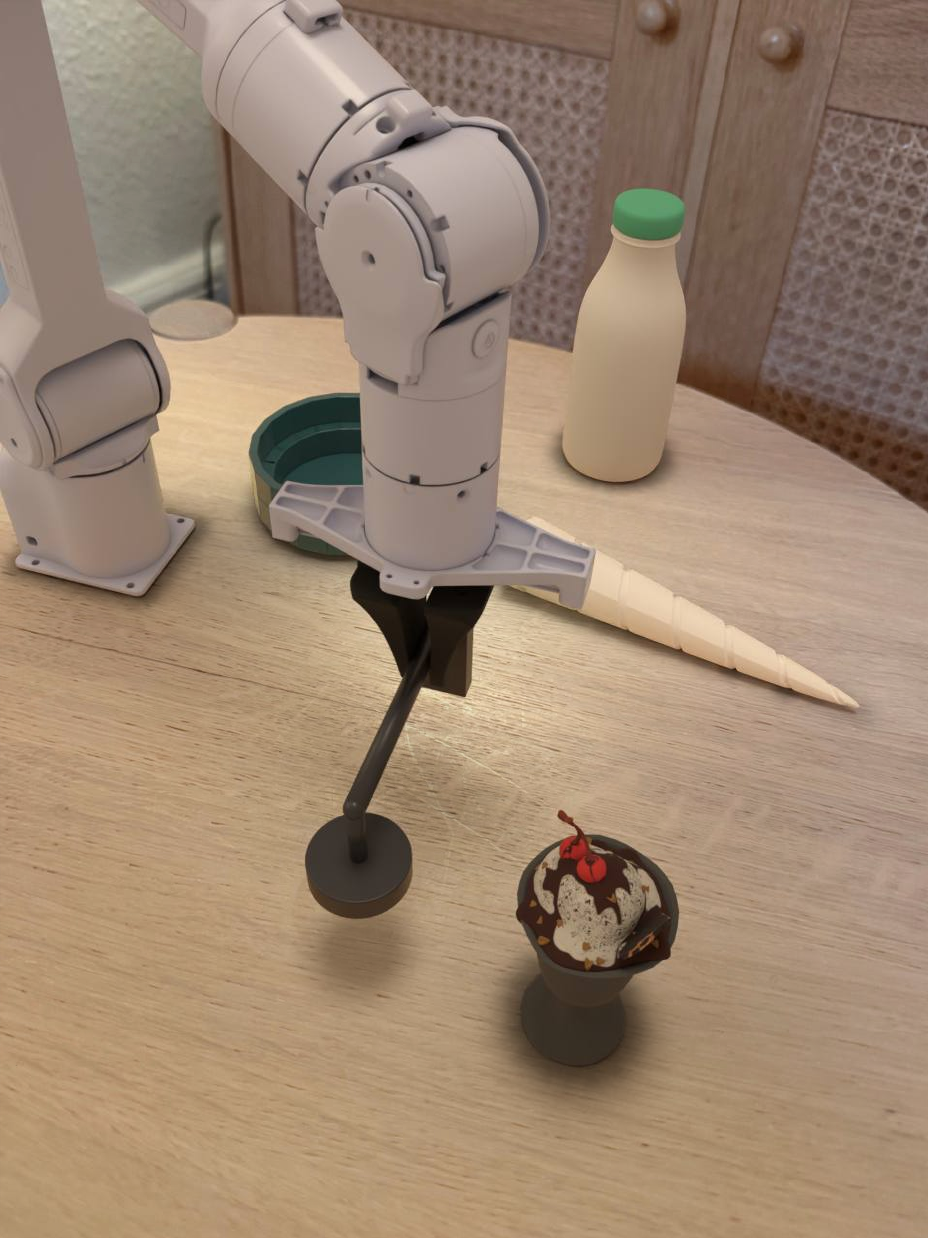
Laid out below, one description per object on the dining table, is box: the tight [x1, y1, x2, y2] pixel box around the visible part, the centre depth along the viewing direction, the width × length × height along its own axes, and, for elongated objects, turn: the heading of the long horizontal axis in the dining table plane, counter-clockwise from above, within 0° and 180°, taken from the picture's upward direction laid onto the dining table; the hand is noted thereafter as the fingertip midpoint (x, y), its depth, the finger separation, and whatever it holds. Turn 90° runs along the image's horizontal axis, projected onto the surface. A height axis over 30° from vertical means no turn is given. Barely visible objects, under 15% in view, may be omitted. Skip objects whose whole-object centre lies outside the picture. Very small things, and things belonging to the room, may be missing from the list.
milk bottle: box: [561, 188, 687, 483], centre depth 77 cm, size 8×8×20 cm
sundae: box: [515, 809, 680, 1066], centre depth 46 cm, size 7×7×15 cm
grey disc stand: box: [304, 622, 474, 920], centre depth 51 cm, size 15×5×6 cm, turn 163°
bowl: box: [248, 392, 363, 556], centre depth 77 cm, size 13×13×5 cm
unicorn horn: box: [508, 516, 861, 708], centre depth 67 cm, size 5×24×5 cm, turn 57°
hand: (427, 668), depth 54 cm, fingers closed on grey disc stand
